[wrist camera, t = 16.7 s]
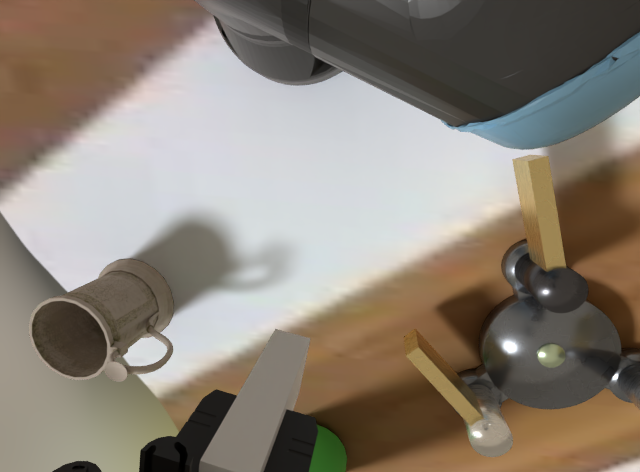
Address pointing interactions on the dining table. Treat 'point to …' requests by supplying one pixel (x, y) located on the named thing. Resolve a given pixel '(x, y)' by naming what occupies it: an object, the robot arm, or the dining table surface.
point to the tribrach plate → (547, 350)
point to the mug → (103, 322)
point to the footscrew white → (463, 398)
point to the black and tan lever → (544, 241)
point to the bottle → (328, 453)
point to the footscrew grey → (630, 383)
